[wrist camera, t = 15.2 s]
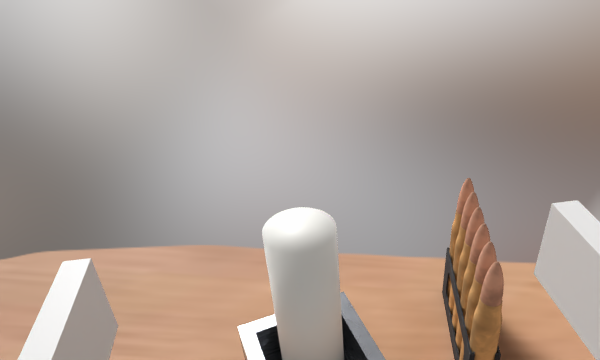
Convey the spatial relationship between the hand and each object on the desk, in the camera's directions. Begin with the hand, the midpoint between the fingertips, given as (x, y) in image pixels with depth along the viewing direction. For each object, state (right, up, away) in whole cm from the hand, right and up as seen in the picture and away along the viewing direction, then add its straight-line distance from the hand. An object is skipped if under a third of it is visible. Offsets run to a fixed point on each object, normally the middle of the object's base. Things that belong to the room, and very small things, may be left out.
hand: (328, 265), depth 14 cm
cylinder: (0, -12, +19) cm, 23 cm away
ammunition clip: (+12, -10, +23) cm, 28 cm away
